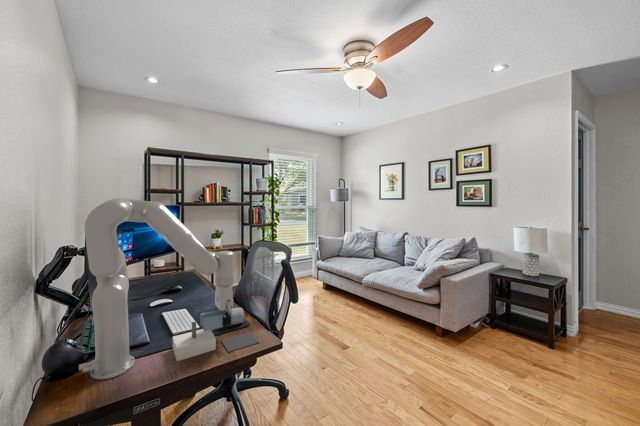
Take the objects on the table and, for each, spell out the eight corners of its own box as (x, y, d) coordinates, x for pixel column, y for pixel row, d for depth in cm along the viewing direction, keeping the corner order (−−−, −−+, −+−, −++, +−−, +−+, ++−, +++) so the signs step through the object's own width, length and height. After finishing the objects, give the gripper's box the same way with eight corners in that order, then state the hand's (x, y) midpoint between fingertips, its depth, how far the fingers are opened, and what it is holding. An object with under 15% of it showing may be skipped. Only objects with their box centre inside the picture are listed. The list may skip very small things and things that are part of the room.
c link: (204, 331, 110) (204, 319, 109) (200, 325, 115) (200, 313, 114) (231, 324, 116) (231, 313, 116) (227, 319, 121) (227, 308, 121)
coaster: (228, 352, 109) (228, 351, 109) (221, 341, 117) (221, 340, 117) (259, 342, 117) (259, 341, 117) (250, 332, 125) (250, 331, 125)
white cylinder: (245, 324, 132) (245, 308, 132) (228, 329, 127) (228, 312, 127) (237, 316, 141) (237, 301, 140) (221, 320, 136) (221, 305, 135)
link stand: (176, 361, 103) (176, 332, 102) (172, 348, 111) (172, 322, 110) (215, 349, 111) (215, 323, 110) (209, 338, 119) (209, 313, 118)
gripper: (209, 276, 121) (209, 316, 122) (221, 288, 107) (221, 333, 108) (227, 274, 125) (226, 312, 126) (240, 285, 111) (240, 328, 113)
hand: (224, 322), depth 117 cm, fingers closed on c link, 6 cm apart
